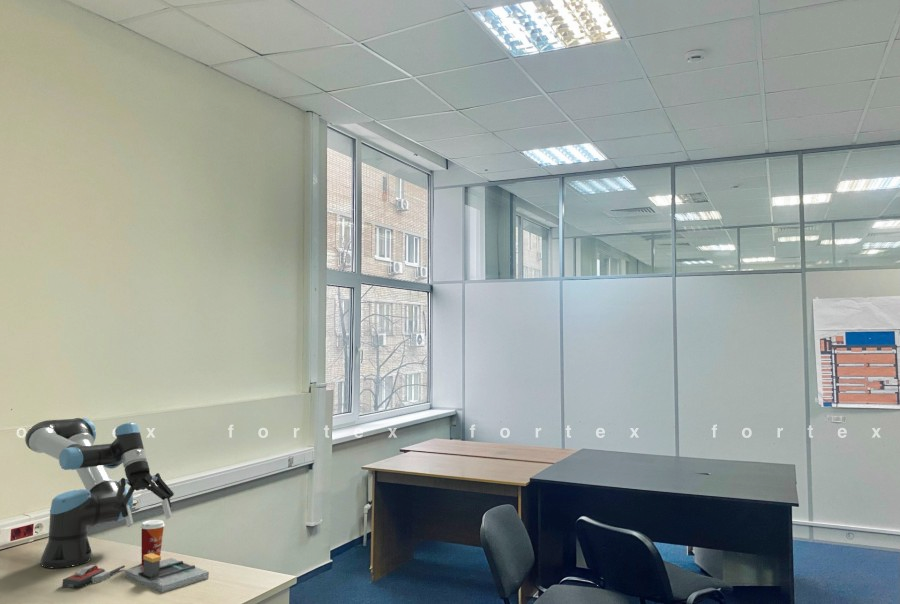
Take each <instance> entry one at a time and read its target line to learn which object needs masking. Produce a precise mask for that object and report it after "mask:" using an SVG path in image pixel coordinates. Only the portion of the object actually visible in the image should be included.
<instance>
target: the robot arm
mask: <svg viewBox="0 0 900 604" xmlns="http://www.w3.org/2000/svg"><path fill="white" fill-rule="evenodd" d="M31 427H32V428H31ZM31 427H30V428H31V429H30V428H29V429H28V430H27V432H26V433H25V439H24V440H25V441H24V442H25V445H26V446H27V448H28V449H30V451H33V452H35V453H38V454H41V453H42V454H46V455H48V456H49V457H52V458H54V459H56V460H58V464H59V466H60V467H61V469H63V470H64V471H65V470H66V471H68V470H69V471H70V470H71V471H73V470H76V473H77V475H78V477H79V478H80V480H81V482H82V484H83V487H84V488H85V489H77V490H76V489H74V490H70V491H65V492H62V493H60V494H57V495H56V496H55V497H54V498H53V499H52V501H51V504H50V505H51V506H50V510H49V525H48V526H49V527H48V541H47V544H46V546H45V548H44V550H43V552H42V554H41V555H42V556H41V558H40V566H41V565H43V566H45V567H53V568H52V569H59V568H58V567H65V568H68V567H67V566H72V565H76V566H78V565H77V564H80V565H82V564H81V563H83V564H85V563H84V562H86V561H88V560H89V559H90V560H91V559H92V556H93V553H92V548H91V543H90V541H89V538H88V529H89V527H94V526H99V525H105V524H109V523H116V522H117V523H118V522H119V521H123V520H125V522H126V527H127V528H130V527H132V525H133V524H134V520H133V515H132V510H133V505H134V494H133V493H134V492H135V491H141V490H142V491H143V490H147V491H150V492H151V493H153V494H154V495H155V496H157V497H158V498H159V499H161V500H162V501H161V505H162V509H163V513H164V517H165V520H169V519H170V518H171V517H172V516H173V514H172V511H171V507H172V503H171V498H172V497H173V496H174V494H175V493H174V491H173V490H172V489H171V488H170V487H169V486H168V484H166V482H165V481H164V480H163V479H162V477H161V475H160V473H159V472H157V473H156V474H153V475H152V474H151V473H150V466H149V463H148V461H147V460H148V459H147V455H146V452H145V451H146V450H145V447H144V444H143V440H142V436H141V431H140V429H139V427H138V424H137V423H135V422H125V423H122V424H120V425H119V426H117V427H116V428H115V432H114V433H115V437H116V438H115V439H114V440H113V442H111V443H103V444H94V443H95V440H96V436H97V431H96V426H95V424H94V422H93V421H91V420H90V419H89V418H82V417H81V418H80V417H76V418H67V419H48V420H43V421H40V422H37V423H36V424H34V425H32V426H31ZM120 465H122V466H123V468H124V473H125V477H126V478H125V477H122V478H120V480H118V481H117V480H114V479H112V478H111V477H110V475H109V473H108V471H107V469H110V470H111V469H116V468H118V467H119V466H120ZM106 468H107V469H106ZM126 485H129V486H130V487H127V486H126ZM90 560H89V561H90ZM89 561H88V562H89ZM86 563H87V562H86ZM45 567H44V568H45ZM72 567H73V566H72Z"/></svg>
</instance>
